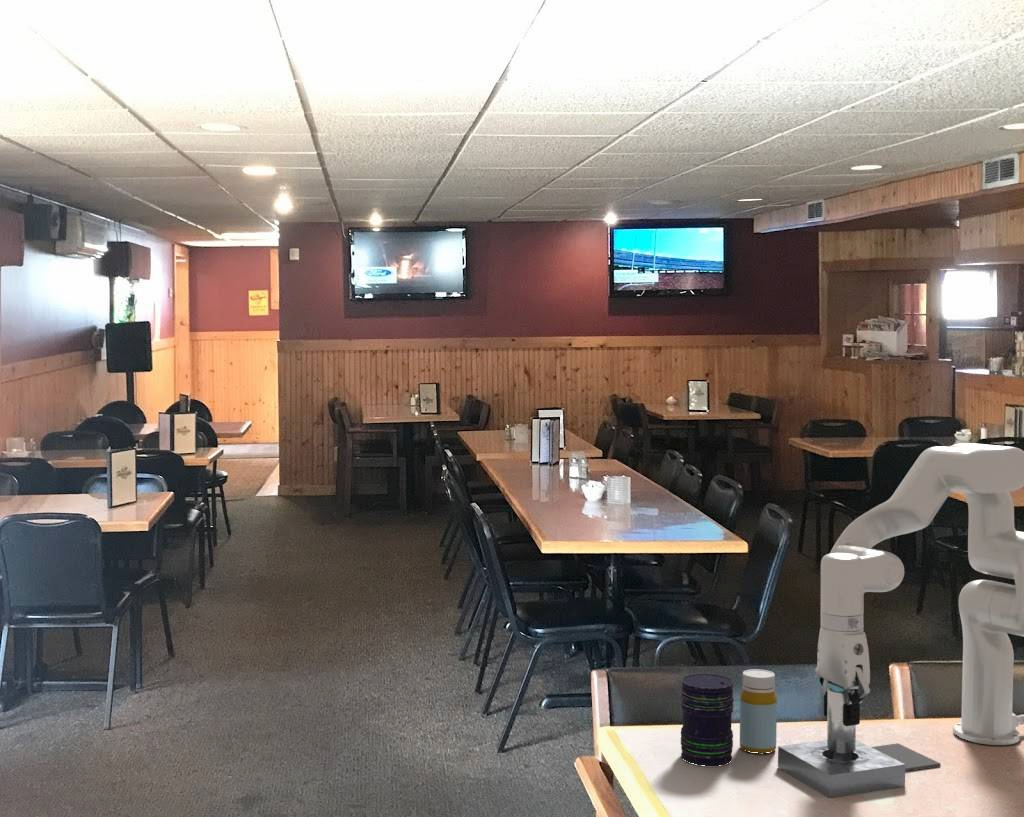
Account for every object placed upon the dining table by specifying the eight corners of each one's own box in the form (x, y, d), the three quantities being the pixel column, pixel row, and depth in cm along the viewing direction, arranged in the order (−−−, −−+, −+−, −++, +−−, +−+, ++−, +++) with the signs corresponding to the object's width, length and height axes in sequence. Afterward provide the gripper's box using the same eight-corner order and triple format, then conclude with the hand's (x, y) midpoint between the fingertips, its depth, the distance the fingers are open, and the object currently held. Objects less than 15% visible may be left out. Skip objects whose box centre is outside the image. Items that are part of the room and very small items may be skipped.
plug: (844, 742, 217) (844, 678, 216) (861, 751, 212) (861, 686, 212) (821, 745, 215) (821, 681, 215) (838, 754, 211) (838, 689, 210)
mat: (898, 746, 231) (898, 743, 231) (940, 766, 219) (940, 763, 219) (847, 753, 226) (847, 750, 226) (887, 774, 215) (887, 771, 215)
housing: (849, 757, 224) (849, 736, 224) (904, 786, 209) (905, 764, 209) (777, 767, 218) (778, 746, 218) (829, 797, 204) (830, 775, 203)
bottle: (776, 756, 224) (777, 679, 224) (739, 753, 226) (740, 677, 225) (775, 744, 231) (776, 669, 231) (739, 742, 233) (740, 667, 232)
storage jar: (672, 761, 221) (673, 683, 221) (690, 746, 230) (690, 671, 229) (723, 770, 217) (724, 691, 216) (739, 754, 225) (740, 678, 225)
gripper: (889, 630, 206) (889, 731, 207) (830, 610, 222) (830, 704, 223) (854, 634, 203) (853, 737, 204) (797, 613, 219) (797, 709, 220)
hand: (841, 719), depth 213 cm, fingers closed on plug, 5 cm apart
